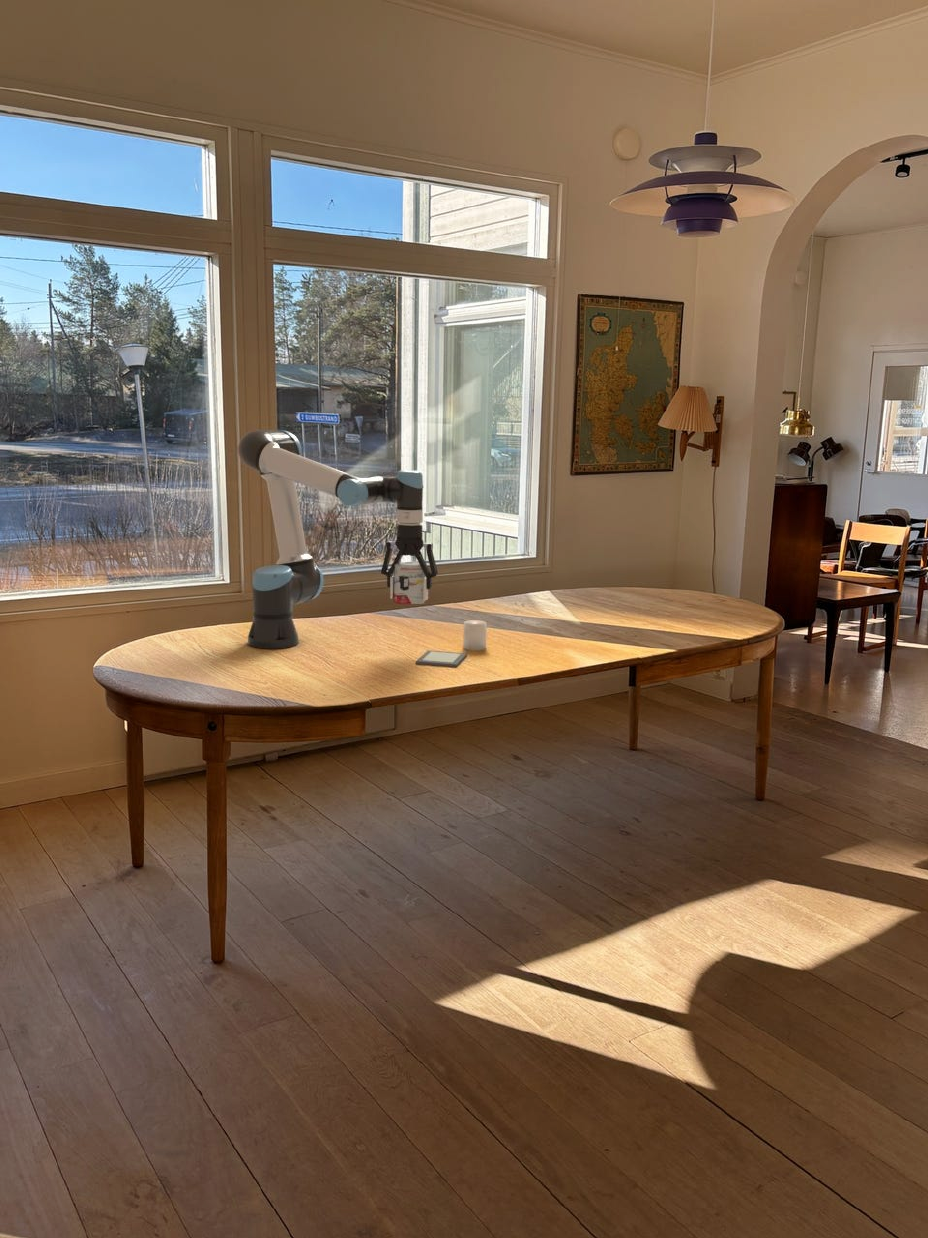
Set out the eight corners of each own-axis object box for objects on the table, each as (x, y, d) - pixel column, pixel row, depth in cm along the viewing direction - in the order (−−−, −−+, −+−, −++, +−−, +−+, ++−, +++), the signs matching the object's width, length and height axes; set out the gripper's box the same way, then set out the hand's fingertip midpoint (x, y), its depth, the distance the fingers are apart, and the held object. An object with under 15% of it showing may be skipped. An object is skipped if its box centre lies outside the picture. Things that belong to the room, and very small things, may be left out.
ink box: (396, 604, 297) (396, 564, 295) (393, 601, 302) (393, 562, 300) (425, 603, 300) (425, 564, 297) (421, 600, 304) (421, 561, 302)
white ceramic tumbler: (460, 649, 307) (461, 624, 305) (465, 644, 314) (466, 619, 312) (483, 651, 306) (484, 625, 304) (487, 646, 312) (488, 621, 311)
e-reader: (415, 664, 288) (415, 660, 288) (427, 653, 301) (427, 650, 301) (456, 667, 286) (456, 664, 285) (467, 656, 299) (467, 653, 299)
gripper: (369, 523, 295) (369, 599, 299) (443, 526, 290) (442, 603, 295) (377, 521, 302) (377, 594, 306) (449, 524, 298) (448, 598, 302)
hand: (409, 598), depth 301 cm, fingers closed on ink box, 9 cm apart
